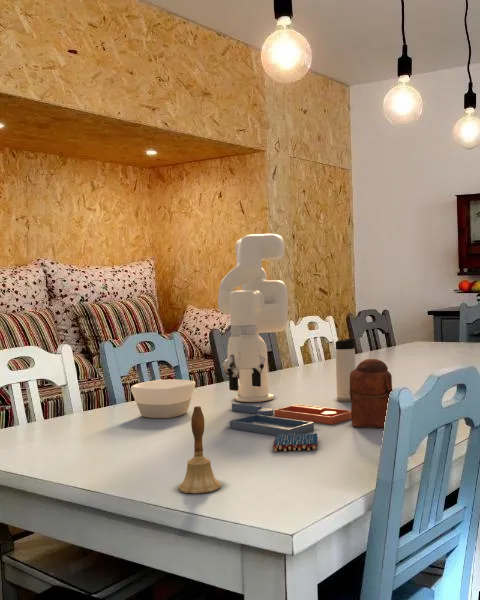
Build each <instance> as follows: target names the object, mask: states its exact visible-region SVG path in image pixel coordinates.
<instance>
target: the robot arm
mask: <svg viewBox="0 0 480 600" xmlns="http://www.w3.org/2000/svg"><path fill="white" fill-rule="evenodd" d="M234 247H235V258H236V262H235V267H233V268H232V269H231V270H229V271H228V272H227V273H226V274H225V275H224V277H223V278H222V280H221V281H220V283H219V288H218V289H219V290H218V297H217V307H218V310H219V312H220V313H221V314H223V315H227V316H228V315H229V316H230V336H229V337H228V342H227V352H226V359H225V360H224V361H223V362H222V363H221V365H222V368H223V371H224V373H225V374H226V376H227V378H228V388H229V391H233V392H236V393H237V395H235V397H234V399H235V401H236V402H239V403H260V402H267V401H271V400H273V399H274V393H270V392H269V370H268V369H269V367H268V348H267V343H266V342H265V341H264V339H263V338H262V337H261V336H260V334H263V333H264V334H265V333H280V332H283V331H285V330H286V328H287V325H288V313H289V312H288V309H289V306H288V303H289V295H288V288H287V285H286V284H285V282H284V281H282V280H279V279H278V280H277V279H274V280H273V279H272V280H271V279H270V280H268V275H267V272H266V270H265V269H264V268H263V261H276V260H277V261H278V260H281V259H283V257H284V255H285V250H286V249H285V248H286V246H285V241H284V239H283V237H282V236H281V235H279V234H275V233H257V234H247V235H244V236H242V237H240V238H239V239H238V240H237V241H236V242H235V246H234ZM240 287H241V288H240ZM237 288H240V289H237ZM237 375H238V376H239V377H238V376H237Z"/></svg>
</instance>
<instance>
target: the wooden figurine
mask: <svg viewBox="0 0 480 600" xmlns="http://www.w3.org/2000/svg"><path fill="white" fill-rule="evenodd" d="M392 377H393V376H392V374H391V372H390V371H389V368H388V365H387V364H386V363H385V362H384V361H382V360H380V359H377V358H366V359H364V360H361V361H360V362H359V363H358V365H356V369H354V370H352V371H351V373H350V399H351V401H350V403H351V406H350V409H351V410H350V411H351V414H352V419H351V426H353V427H357V428H378V429H379V428H383V429H385V428H384V422H385V416H386V410H387V403H388V398H389V394H390V392H391V391H392V392H393V380H392V379H393V378H392ZM390 395H391V394H390Z"/></svg>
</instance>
